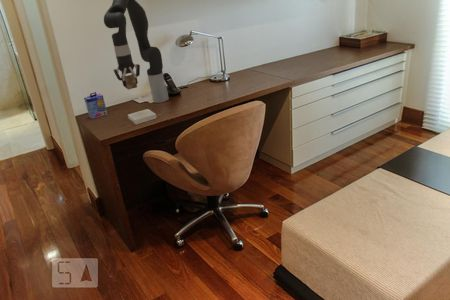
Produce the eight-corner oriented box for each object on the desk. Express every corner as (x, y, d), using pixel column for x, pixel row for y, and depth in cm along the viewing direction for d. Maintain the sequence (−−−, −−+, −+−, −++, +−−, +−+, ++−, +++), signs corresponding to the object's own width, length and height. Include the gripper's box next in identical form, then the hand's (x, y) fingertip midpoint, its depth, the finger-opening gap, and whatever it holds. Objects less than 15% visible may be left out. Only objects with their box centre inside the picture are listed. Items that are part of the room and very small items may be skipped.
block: (134, 85, 195) (131, 74, 193) (137, 87, 191) (134, 76, 189) (125, 87, 193) (122, 76, 191) (128, 89, 189) (125, 78, 187)
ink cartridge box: (92, 119, 208) (85, 95, 202) (89, 117, 212) (81, 93, 206) (108, 114, 213) (101, 90, 207) (105, 112, 217) (98, 89, 211)
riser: (148, 112, 207) (147, 108, 206) (156, 118, 198) (155, 113, 197) (128, 118, 202) (127, 114, 201) (135, 124, 193) (134, 119, 191)
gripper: (134, 50, 190) (141, 81, 198) (107, 55, 185) (115, 87, 192) (138, 51, 184) (145, 84, 192) (111, 57, 179) (119, 90, 186)
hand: (130, 85), depth 192 cm, fingers closed on block, 5 cm apart
